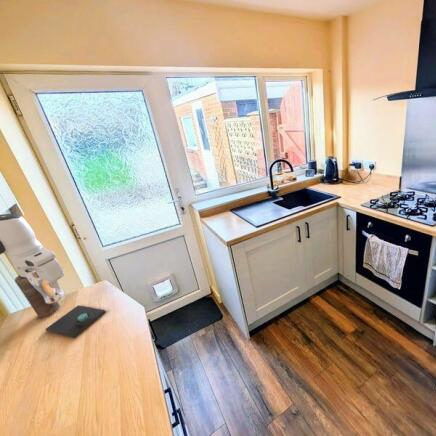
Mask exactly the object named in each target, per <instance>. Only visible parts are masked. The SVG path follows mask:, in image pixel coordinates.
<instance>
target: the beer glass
mask: <svg viewBox="0 0 436 436" xmlns="http://www.w3.org/2000/svg"><path fill="white" fill-rule="evenodd" d="M24 273H25V275H26V277H27V279H28V280H29V282H30V283H31V284H32V286H33V287H34V288H36V289H37V290H38V291H39V292H40V293H41V294H42V295H43V297H44V300H45V303H47V304H50V303H54V302H59V301H60V300H62V299H63V298H64V297H66V293H65V291H64V290H63V289H62V288H61V287H60V285H59V286H58V287H57V288H51V286H50V282H48V280H42V279H41V278H40V276H39V275H38V273H37V270H35V271H32V272H27V269H25V270H24ZM57 283H58V284H59V280H57Z"/></svg>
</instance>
